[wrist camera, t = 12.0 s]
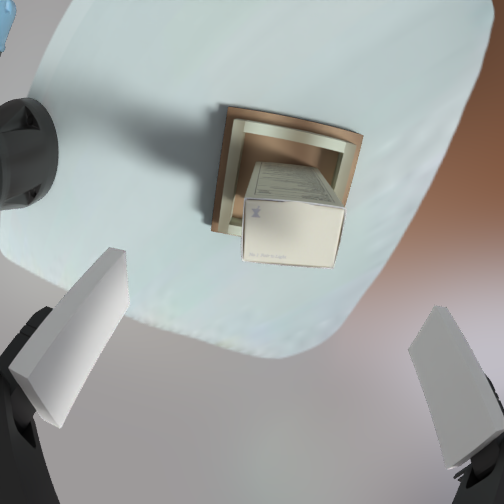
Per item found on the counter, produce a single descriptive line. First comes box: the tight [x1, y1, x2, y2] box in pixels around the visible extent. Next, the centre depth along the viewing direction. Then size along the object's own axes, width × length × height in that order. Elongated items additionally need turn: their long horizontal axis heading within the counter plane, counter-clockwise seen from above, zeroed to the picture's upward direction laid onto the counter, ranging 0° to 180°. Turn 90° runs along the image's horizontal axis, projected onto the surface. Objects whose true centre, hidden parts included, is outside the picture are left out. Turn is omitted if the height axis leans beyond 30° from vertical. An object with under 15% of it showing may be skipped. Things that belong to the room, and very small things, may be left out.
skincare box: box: [241, 162, 347, 269], centre depth 23 cm, size 6×4×12 cm
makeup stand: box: [211, 107, 364, 237], centre depth 28 cm, size 13×13×3 cm
